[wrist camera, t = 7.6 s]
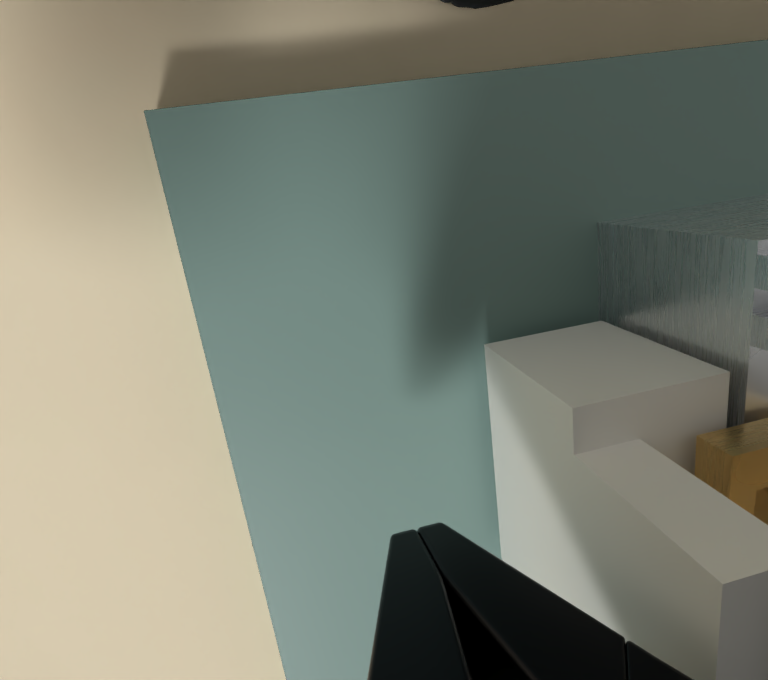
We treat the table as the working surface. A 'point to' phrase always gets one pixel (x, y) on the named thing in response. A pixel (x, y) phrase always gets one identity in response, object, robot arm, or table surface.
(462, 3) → the mouse mat
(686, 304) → the heatsink
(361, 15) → the table surface
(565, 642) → the robot arm
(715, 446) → the tan flat bar
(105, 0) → the table surface
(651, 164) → the board
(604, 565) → the clip
